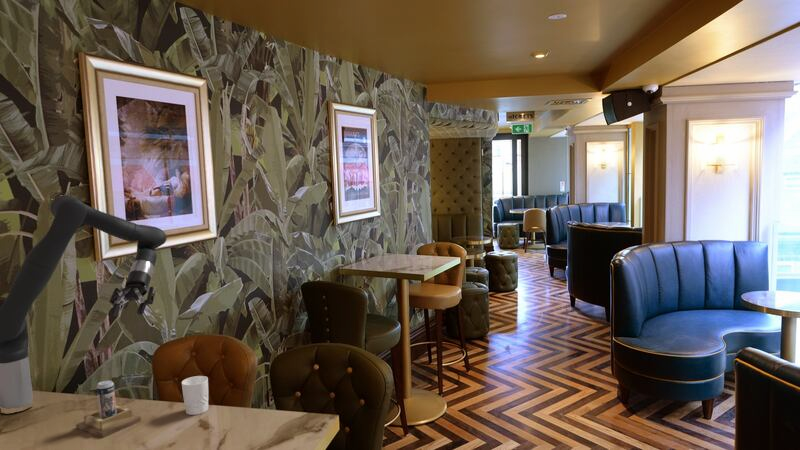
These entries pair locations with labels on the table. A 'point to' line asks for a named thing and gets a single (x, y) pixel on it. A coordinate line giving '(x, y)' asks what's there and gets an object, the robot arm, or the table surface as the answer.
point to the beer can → (106, 399)
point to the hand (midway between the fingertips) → (126, 314)
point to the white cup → (195, 394)
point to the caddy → (108, 422)
